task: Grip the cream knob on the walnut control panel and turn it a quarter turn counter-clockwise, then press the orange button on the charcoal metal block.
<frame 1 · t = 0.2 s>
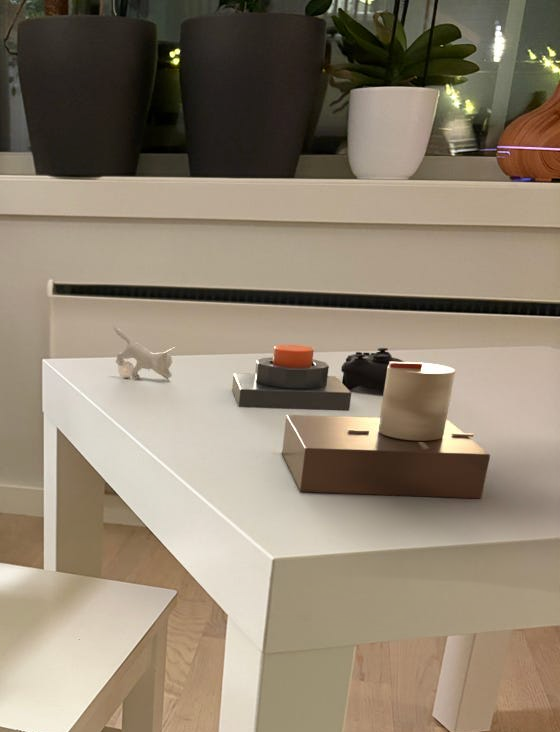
panel: (374, 474, 70), on the table
game controller: (376, 389, 99), on the table
beige animal figurine: (141, 381, 100), on the table
button block: (288, 400, 92), on the table
dial: (416, 398, 67), point 5 cm above the table, hinge at 0.0°
button: (292, 357, 90), point 4 cm above the table, slide at 0.1 cm
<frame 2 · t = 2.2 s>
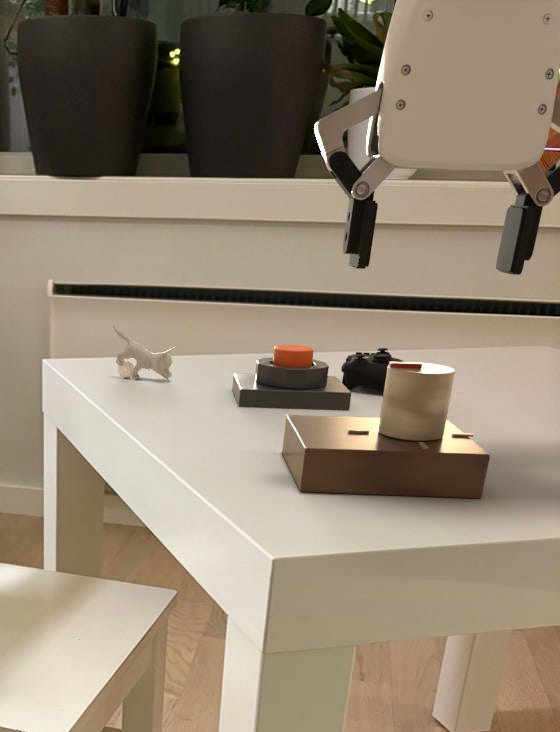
hand: (432, 269, 63), 14 cm above the table, tool pointing down, fingers open, 9 cm apart
nothing on the table moved.
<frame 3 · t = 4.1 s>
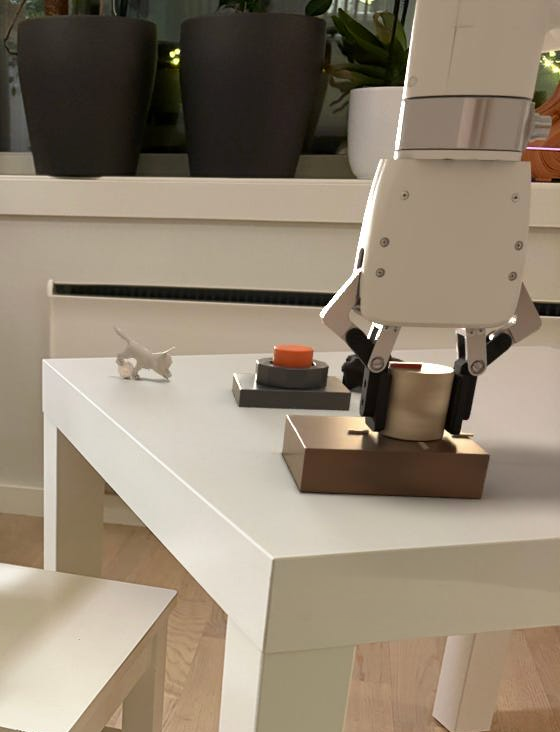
hand: (411, 426, 68), 4 cm above the table, tool pointing down, fingers closed on dial, 4 cm apart
dial: (416, 398, 67), point 5 cm above the table, hinge at -0.1°, touching gripper
everything else where it was.
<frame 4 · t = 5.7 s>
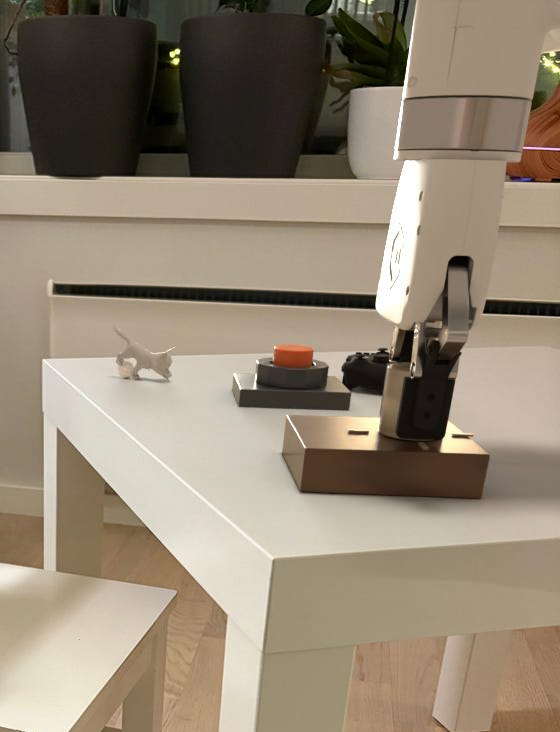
hand: (410, 426, 68), 4 cm above the table, tool pointing down, fingers closed on dial, 4 cm apart
dial: (416, 398, 67), point 5 cm above the table, hinge at 90.0°, touching gripper
everything else where it was.
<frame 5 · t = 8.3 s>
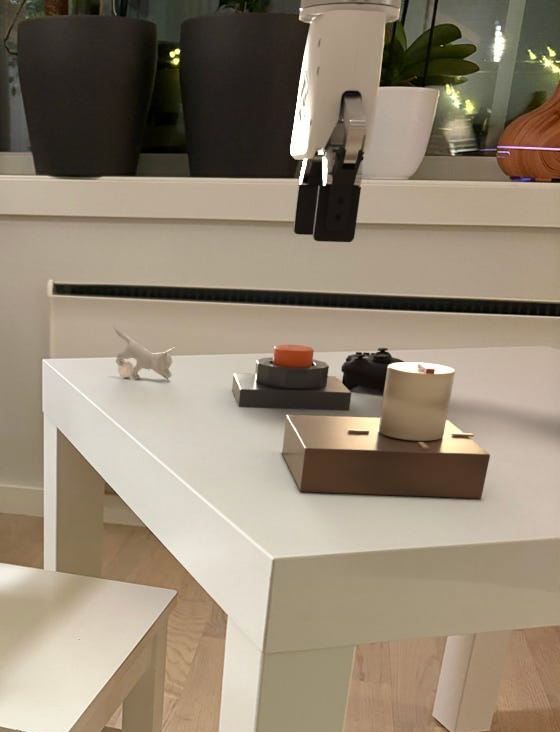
hand: (321, 237, 82), 15 cm above the table, tool pointing down, fingers open, 9 cm apart
dial: (416, 398, 67), point 5 cm above the table, hinge at 91.3°
everything else where it was.
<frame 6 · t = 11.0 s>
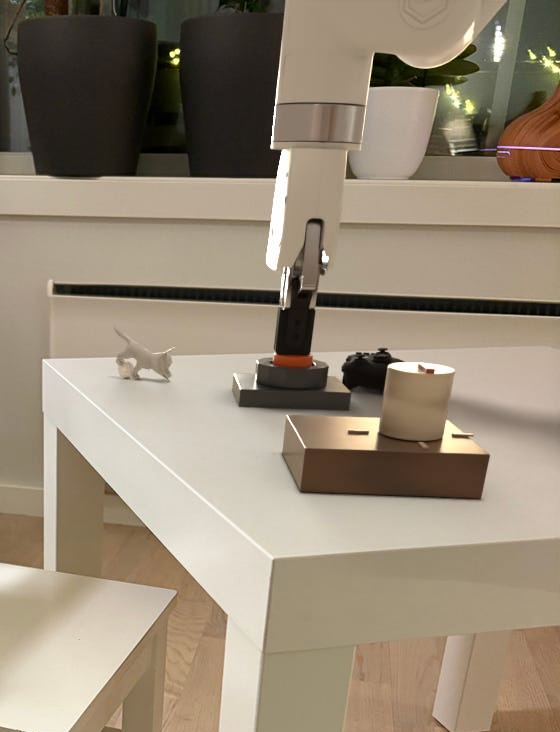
hand: (291, 353, 90), 4 cm above the table, tool pointing down, fingers closed
button: (292, 363, 91), point 3 cm above the table, slide at -0.5 cm, touching gripper
everything else where it was.
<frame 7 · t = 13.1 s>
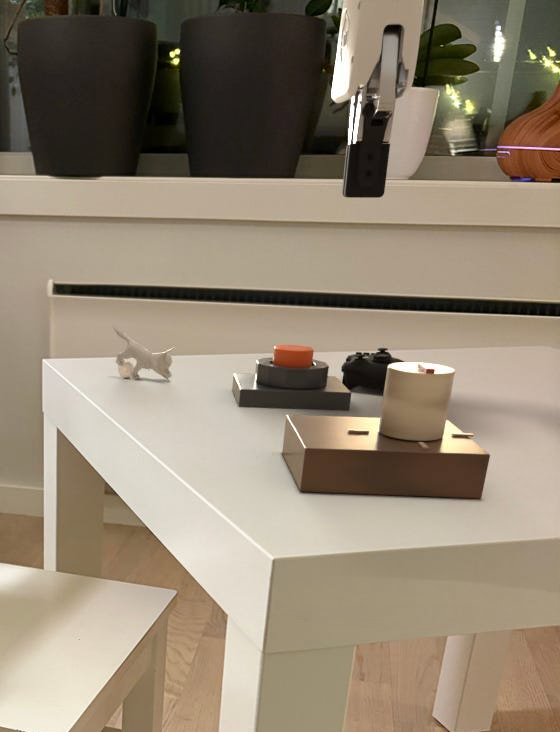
hand: (362, 196, 81), 18 cm above the table, tool pointing down, fingers closed
button: (292, 357, 90), point 4 cm above the table, slide at 0.1 cm
everything else where it was.
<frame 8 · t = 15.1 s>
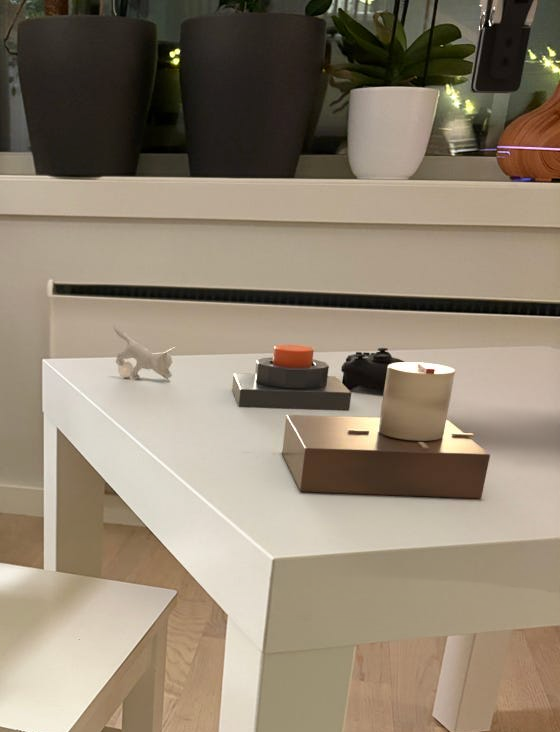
hand: (493, 91, 72), 25 cm above the table, tool pointing down, fingers closed
nothing on the table moved.
at the end: dial at +91° (first picture: +0°); button pushed in 1.1 cm at the most during the clip, back to where it started at the end; button slide at 0.1 cm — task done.
